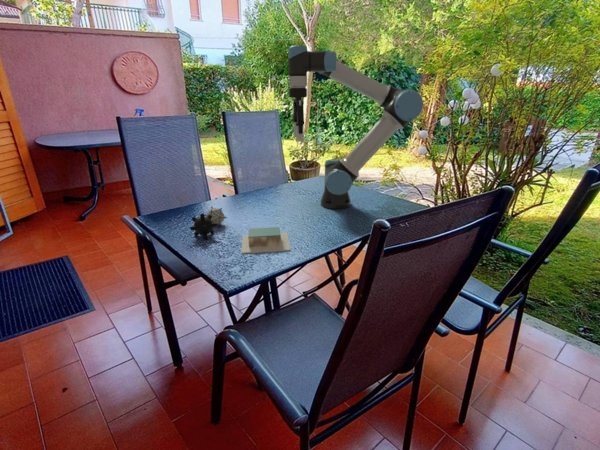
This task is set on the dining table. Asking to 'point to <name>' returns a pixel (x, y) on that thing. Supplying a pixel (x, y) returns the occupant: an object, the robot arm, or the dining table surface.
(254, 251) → the mat
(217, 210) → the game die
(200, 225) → the toy ball
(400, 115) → the robot arm
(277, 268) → the dining table surface
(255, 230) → the green and tan block
